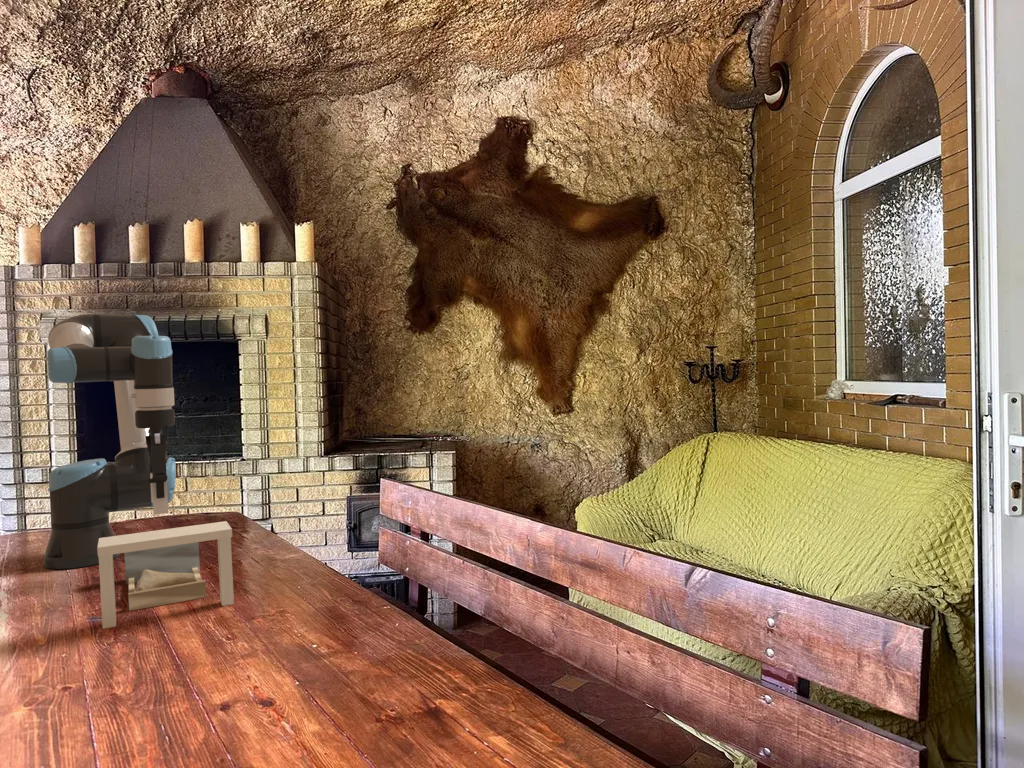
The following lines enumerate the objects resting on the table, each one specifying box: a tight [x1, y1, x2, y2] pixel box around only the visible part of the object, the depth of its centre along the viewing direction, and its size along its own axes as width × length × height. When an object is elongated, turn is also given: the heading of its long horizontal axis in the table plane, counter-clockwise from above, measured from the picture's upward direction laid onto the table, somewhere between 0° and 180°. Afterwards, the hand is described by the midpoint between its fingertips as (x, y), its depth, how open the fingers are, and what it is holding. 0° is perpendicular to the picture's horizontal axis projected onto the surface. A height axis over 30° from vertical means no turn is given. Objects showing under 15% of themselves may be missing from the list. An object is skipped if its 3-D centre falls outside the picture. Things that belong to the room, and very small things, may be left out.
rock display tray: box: [123, 542, 207, 611], centre depth 140 cm, size 23×14×9 cm, turn 29°
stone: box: [135, 569, 197, 592], centre depth 136 cm, size 11×6×5 cm, turn 136°
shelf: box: [97, 520, 235, 630], centre depth 124 cm, size 8×21×14 cm, turn 119°
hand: (159, 507), depth 148 cm, fingers open, 13 cm apart
